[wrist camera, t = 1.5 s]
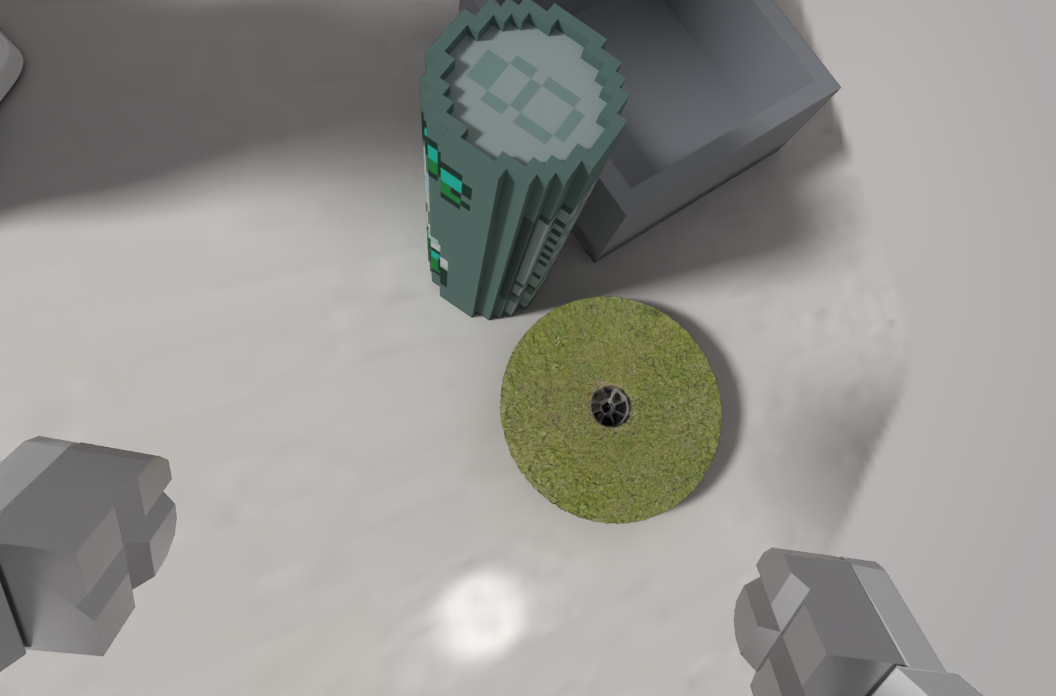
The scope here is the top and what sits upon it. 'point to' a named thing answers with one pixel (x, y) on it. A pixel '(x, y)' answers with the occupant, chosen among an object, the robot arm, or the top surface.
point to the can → (512, 147)
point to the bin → (690, 103)
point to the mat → (610, 410)
